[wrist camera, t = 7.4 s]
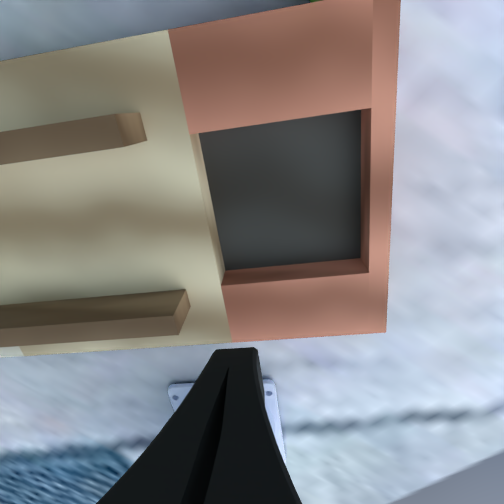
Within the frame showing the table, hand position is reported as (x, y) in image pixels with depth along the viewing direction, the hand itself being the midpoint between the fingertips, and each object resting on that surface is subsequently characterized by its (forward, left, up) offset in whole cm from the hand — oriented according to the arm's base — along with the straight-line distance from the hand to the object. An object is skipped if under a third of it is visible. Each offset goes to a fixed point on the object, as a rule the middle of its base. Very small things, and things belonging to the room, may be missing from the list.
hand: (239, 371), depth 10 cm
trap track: (+3, +9, -9) cm, 13 cm away
